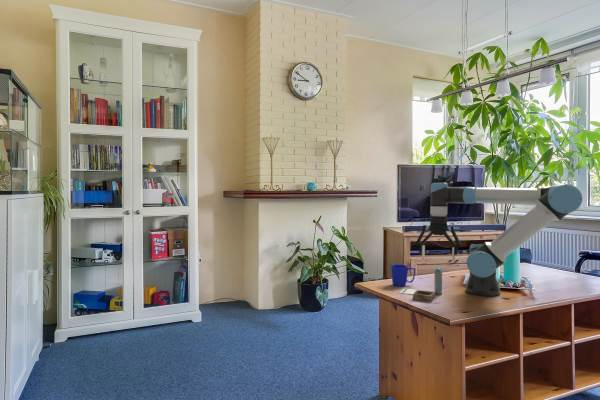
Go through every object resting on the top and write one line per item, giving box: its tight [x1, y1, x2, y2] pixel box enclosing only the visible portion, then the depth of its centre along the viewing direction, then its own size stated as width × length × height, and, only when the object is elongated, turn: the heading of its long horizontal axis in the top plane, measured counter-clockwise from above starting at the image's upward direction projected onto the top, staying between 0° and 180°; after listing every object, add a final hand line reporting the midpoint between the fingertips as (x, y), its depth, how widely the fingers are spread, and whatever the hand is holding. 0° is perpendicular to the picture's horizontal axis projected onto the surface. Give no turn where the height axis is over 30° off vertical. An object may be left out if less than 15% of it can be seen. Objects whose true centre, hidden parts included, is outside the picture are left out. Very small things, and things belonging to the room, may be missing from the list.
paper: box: [398, 288, 418, 296], centre depth 189 cm, size 14×9×1 cm, turn 61°
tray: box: [412, 289, 436, 303], centre depth 179 cm, size 8×8×3 cm
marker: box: [433, 267, 443, 296], centre depth 187 cm, size 3×3×12 cm
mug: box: [390, 264, 416, 287], centre depth 204 cm, size 8×12×10 cm
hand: (438, 260), depth 187 cm, fingers open, 13 cm apart
